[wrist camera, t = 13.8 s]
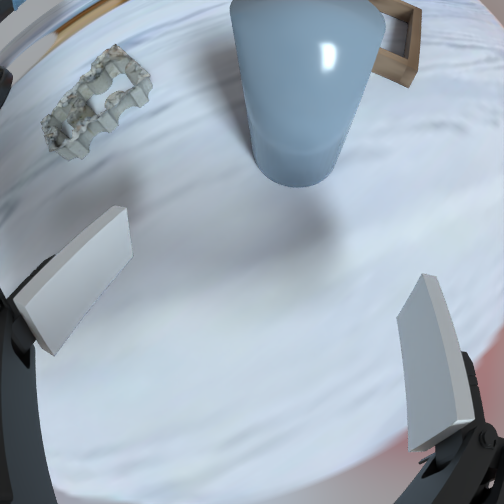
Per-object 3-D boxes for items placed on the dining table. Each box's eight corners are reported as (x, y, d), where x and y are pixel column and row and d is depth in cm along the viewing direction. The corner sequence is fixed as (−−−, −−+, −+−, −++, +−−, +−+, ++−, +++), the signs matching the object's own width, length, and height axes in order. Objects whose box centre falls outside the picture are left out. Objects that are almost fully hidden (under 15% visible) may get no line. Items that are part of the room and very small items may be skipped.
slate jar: (239, 169, 20) (200, 30, 8) (272, 106, 20) (265, -29, 9) (321, 200, 19) (373, 73, 7) (346, 132, 20) (392, 2, 8)
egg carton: (134, 64, 23) (119, 38, 19) (165, 98, 22) (149, 68, 18) (53, 129, 23) (31, 110, 19) (70, 175, 21) (43, 155, 17)
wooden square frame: (264, 39, 22) (263, 20, 19) (307, -13, 24) (307, -28, 21) (408, 88, 20) (417, 71, 17) (416, 23, 22) (421, 9, 19)
